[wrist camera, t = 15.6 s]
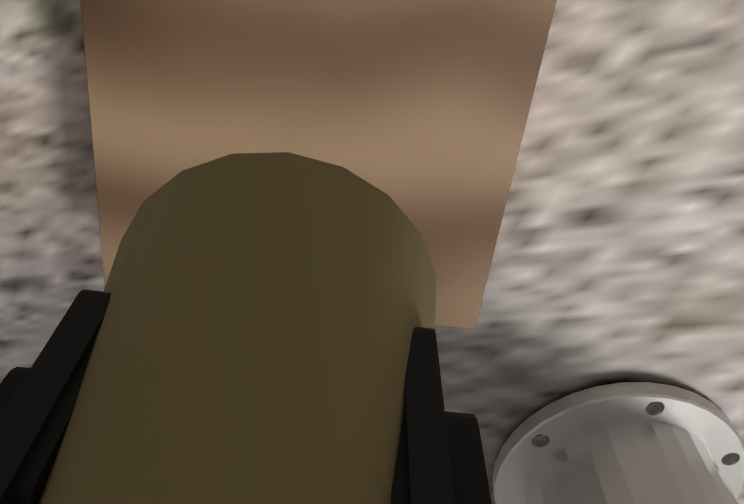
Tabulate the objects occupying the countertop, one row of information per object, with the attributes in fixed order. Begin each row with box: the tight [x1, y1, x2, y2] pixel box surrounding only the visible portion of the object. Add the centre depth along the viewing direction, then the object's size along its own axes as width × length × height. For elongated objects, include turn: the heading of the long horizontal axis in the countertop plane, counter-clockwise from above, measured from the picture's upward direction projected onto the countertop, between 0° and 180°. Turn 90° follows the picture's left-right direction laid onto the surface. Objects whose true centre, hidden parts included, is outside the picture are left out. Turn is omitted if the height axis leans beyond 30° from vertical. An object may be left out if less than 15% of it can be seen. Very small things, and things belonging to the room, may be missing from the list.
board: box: [81, 0, 557, 329], centre depth 23 cm, size 20×14×4 cm
